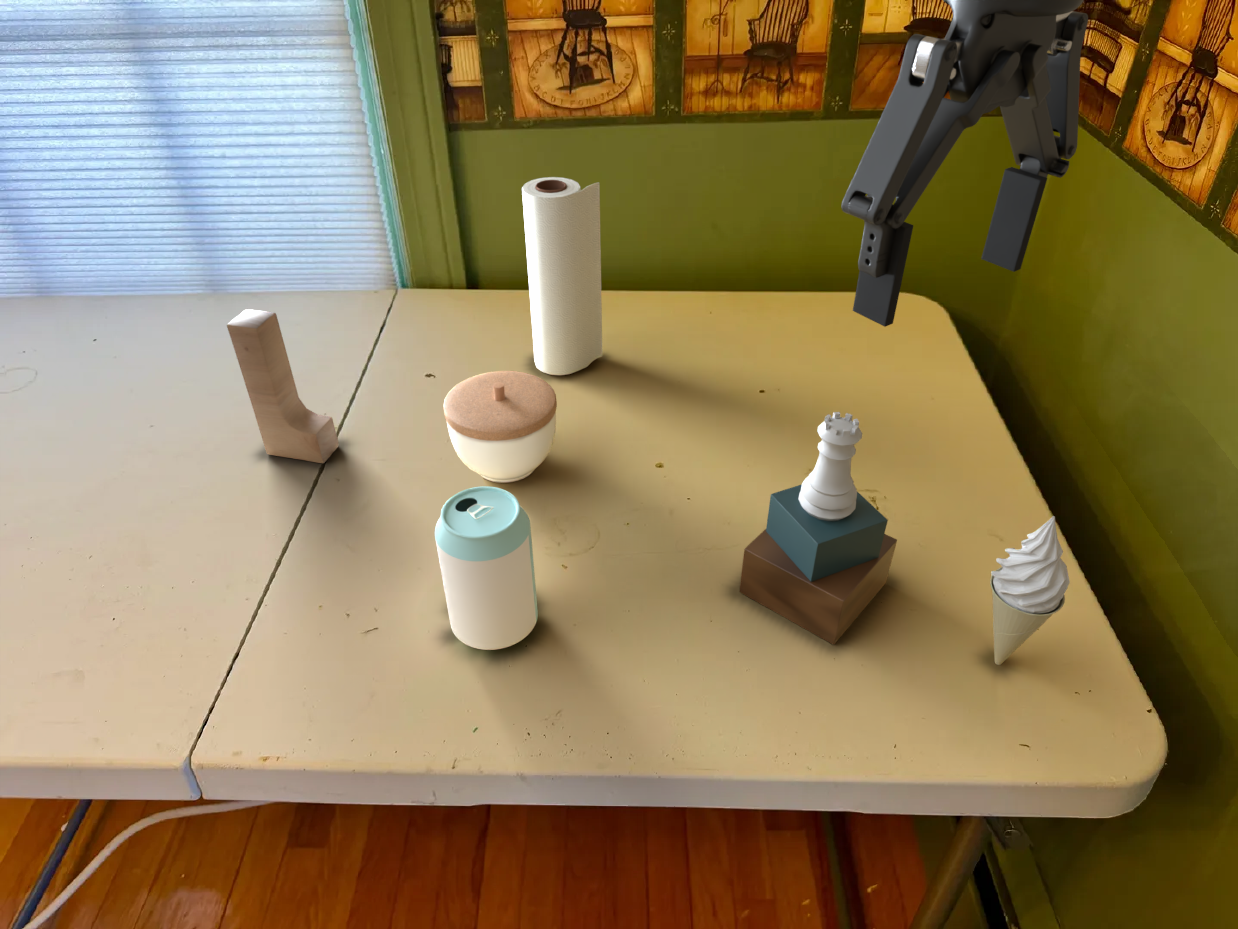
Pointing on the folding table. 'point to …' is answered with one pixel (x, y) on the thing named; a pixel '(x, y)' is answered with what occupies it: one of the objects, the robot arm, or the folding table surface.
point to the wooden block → (278, 391)
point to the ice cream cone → (1027, 589)
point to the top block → (824, 535)
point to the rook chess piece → (832, 470)
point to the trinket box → (501, 423)
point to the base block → (812, 587)
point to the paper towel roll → (563, 273)
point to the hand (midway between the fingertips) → (939, 289)
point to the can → (487, 567)
